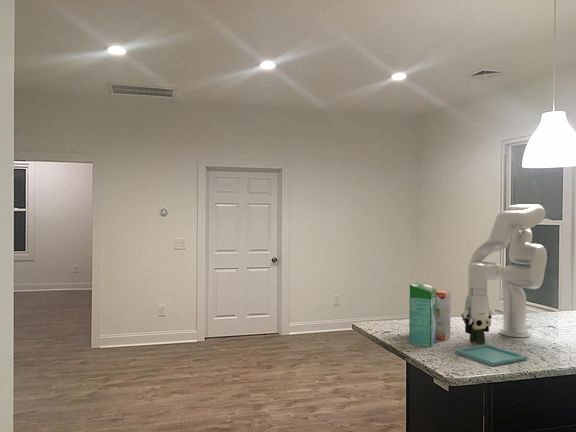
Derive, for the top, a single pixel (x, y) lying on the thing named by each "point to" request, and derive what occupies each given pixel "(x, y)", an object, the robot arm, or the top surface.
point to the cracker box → (443, 315)
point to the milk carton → (422, 314)
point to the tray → (490, 355)
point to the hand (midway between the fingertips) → (477, 332)
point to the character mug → (479, 329)
